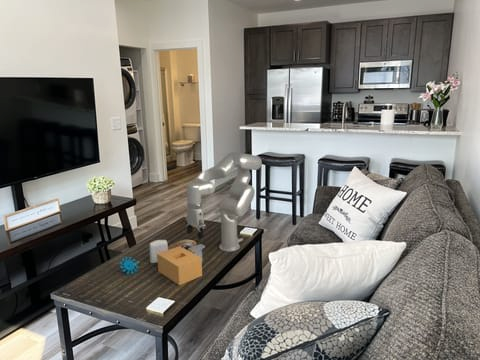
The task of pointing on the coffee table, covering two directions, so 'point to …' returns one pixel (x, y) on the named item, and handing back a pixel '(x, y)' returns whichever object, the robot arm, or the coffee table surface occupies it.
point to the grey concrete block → (197, 250)
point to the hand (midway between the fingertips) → (195, 235)
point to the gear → (129, 265)
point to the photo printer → (157, 249)
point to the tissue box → (179, 265)
